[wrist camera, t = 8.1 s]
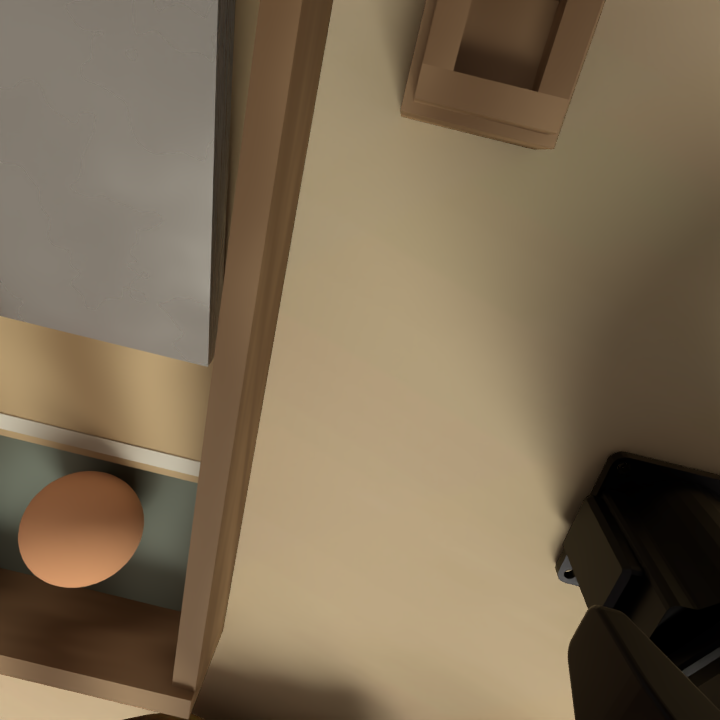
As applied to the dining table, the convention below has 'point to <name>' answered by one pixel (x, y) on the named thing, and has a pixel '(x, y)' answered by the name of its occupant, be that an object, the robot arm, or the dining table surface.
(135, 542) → the ball
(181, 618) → the lane
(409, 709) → the dining table surface
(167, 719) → the ceramic sculpture
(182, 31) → the chute
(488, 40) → the brown square frame
